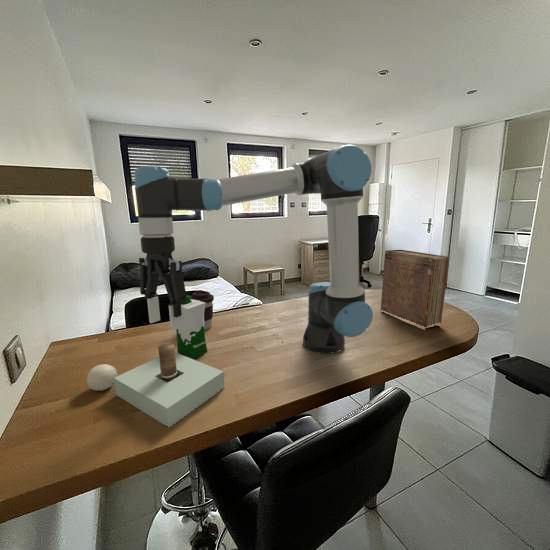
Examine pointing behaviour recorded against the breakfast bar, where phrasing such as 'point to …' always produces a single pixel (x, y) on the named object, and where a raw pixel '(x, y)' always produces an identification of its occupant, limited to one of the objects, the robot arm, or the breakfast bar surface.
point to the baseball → (101, 377)
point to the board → (169, 388)
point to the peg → (167, 362)
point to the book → (414, 286)
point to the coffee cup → (208, 311)
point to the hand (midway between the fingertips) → (165, 324)
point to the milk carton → (191, 329)
